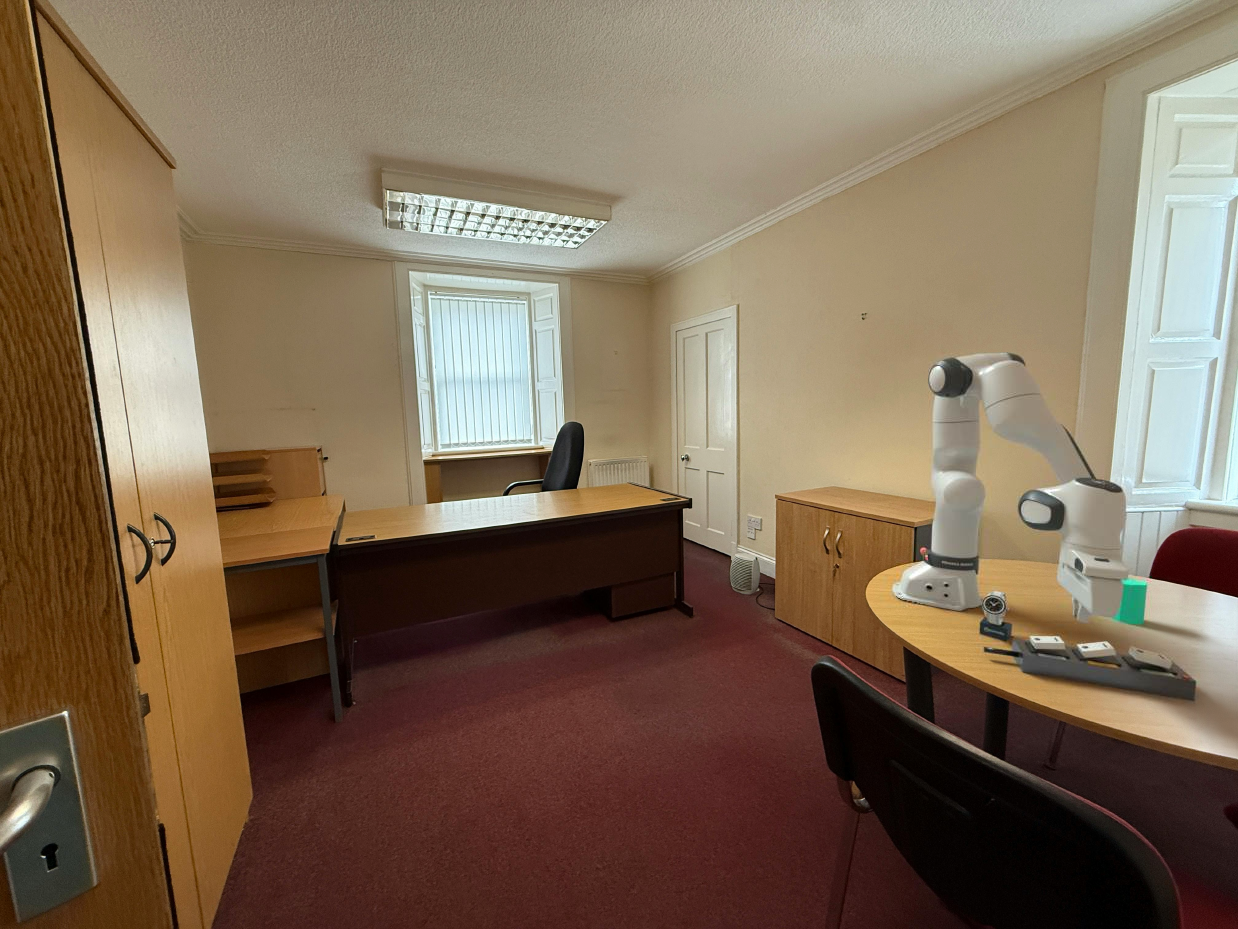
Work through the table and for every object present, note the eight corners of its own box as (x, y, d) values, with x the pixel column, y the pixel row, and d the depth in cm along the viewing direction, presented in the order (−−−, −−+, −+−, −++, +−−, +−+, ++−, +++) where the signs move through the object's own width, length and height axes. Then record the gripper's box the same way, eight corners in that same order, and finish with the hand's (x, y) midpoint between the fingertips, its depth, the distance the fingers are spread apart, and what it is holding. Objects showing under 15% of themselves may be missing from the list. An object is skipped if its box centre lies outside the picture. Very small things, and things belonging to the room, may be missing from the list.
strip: (987, 666, 106) (988, 648, 105) (979, 649, 113) (980, 632, 112) (1194, 700, 91) (1196, 679, 91) (1170, 679, 98) (1172, 659, 98)
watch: (977, 636, 119) (979, 594, 118) (986, 626, 124) (988, 585, 123) (1005, 644, 115) (1007, 600, 114) (1013, 633, 120) (1016, 591, 119)
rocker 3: (1136, 659, 96) (1138, 653, 96) (1128, 652, 99) (1130, 645, 99) (1169, 668, 94) (1172, 662, 94) (1160, 660, 97) (1163, 654, 97)
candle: (1150, 625, 121) (1154, 580, 120) (1122, 624, 122) (1126, 579, 121) (1130, 615, 127) (1134, 571, 125) (1104, 614, 128) (1107, 571, 127)
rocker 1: (1035, 648, 104) (1034, 642, 103) (1030, 642, 106) (1029, 635, 106) (1065, 649, 101) (1064, 642, 101) (1059, 642, 104) (1058, 636, 104)
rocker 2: (1085, 657, 100) (1082, 651, 100) (1079, 650, 103) (1076, 644, 103) (1116, 655, 98) (1113, 648, 98) (1109, 647, 100) (1106, 641, 100)
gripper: (1051, 541, 109) (1045, 598, 111) (1088, 569, 91) (1079, 637, 93) (1088, 545, 107) (1080, 603, 108) (1133, 575, 89) (1123, 644, 90)
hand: (1080, 619), depth 101 cm, fingers closed
